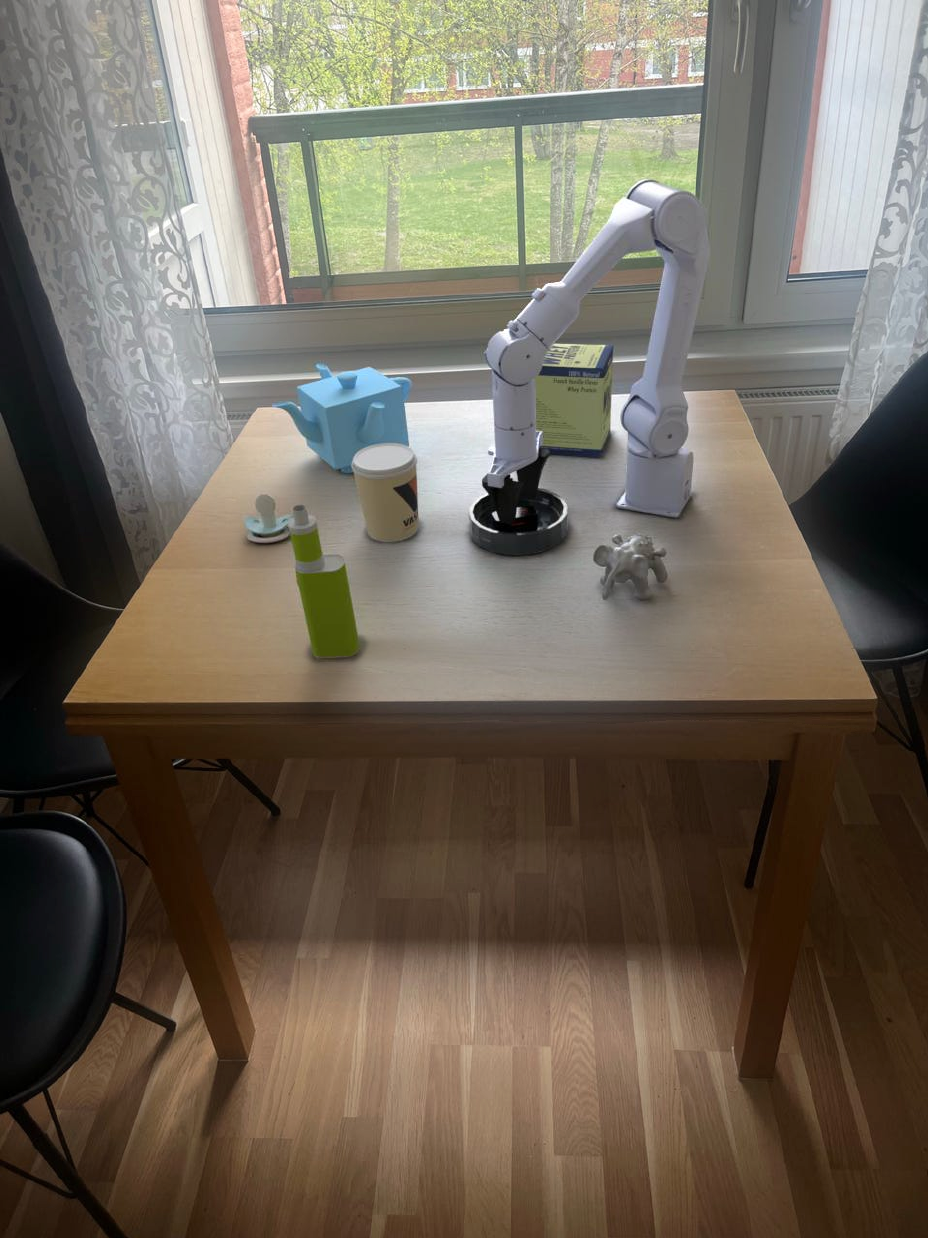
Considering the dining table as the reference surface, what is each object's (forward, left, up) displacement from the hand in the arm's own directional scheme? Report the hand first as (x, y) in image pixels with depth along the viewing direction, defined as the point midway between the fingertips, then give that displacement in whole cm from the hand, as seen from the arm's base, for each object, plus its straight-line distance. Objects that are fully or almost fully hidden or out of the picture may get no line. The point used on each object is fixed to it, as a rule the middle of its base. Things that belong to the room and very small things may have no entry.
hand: (517, 509), depth 129 cm
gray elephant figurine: (-20, +10, -4) cm, 23 cm away
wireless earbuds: (0, 0, -3) cm, 3 cm away
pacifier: (+35, +14, -4) cm, 38 cm away
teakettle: (+37, -13, -4) cm, 39 cm away
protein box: (+5, -30, -4) cm, 31 cm away
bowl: (0, 0, -4) cm, 4 cm away
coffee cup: (+18, +6, -4) cm, 19 cm away
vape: (+10, +34, -4) cm, 36 cm away
